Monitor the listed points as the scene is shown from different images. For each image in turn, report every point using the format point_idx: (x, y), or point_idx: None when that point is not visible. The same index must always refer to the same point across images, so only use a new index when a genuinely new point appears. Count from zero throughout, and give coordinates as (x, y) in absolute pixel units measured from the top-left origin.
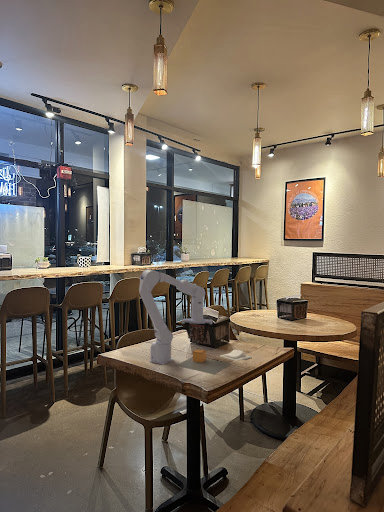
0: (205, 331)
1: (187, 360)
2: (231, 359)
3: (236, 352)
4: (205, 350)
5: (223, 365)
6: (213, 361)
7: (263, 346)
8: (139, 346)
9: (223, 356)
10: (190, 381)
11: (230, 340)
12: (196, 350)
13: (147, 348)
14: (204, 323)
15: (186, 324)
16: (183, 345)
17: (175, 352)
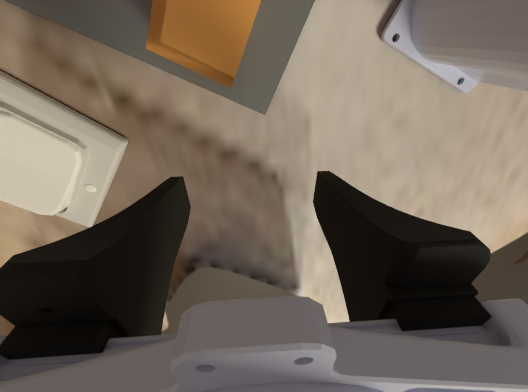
0: (130, 215)
1: (298, 4)
2: (12, 90)
3: (24, 184)
4: (152, 45)
5: None
6: (105, 12)
7: None
8: (505, 227)
9: (88, 135)
10: None
11: (167, 326)
12: (233, 29)
13: (479, 212)
14: (119, 345)
15: (439, 284)
16: (324, 265)
17: (362, 185)
